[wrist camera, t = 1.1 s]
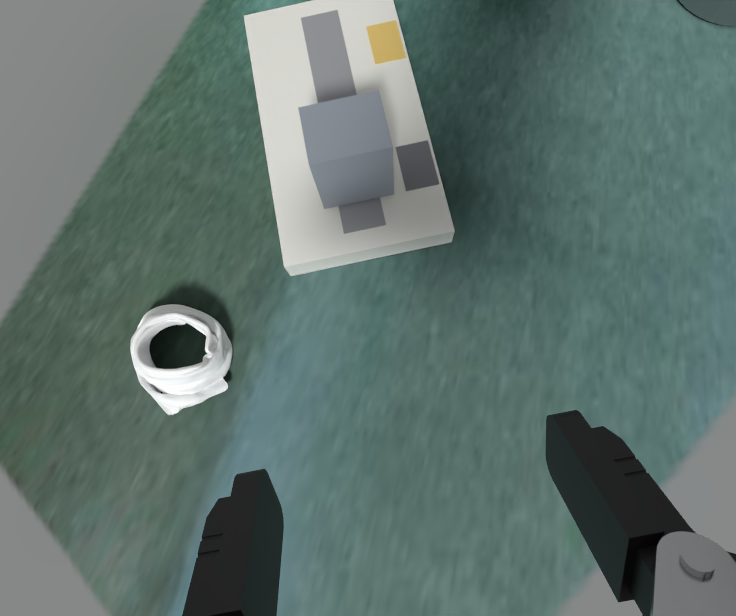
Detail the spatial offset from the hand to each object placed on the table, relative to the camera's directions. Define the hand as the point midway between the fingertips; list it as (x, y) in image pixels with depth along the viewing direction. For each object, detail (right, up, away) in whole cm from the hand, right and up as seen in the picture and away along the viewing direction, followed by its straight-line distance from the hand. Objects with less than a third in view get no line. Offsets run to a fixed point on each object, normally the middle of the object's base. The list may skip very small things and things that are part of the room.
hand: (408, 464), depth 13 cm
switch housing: (-3, +18, +24) cm, 30 cm away
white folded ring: (-14, +1, +21) cm, 25 cm away
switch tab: (-2, +14, +21) cm, 25 cm away
